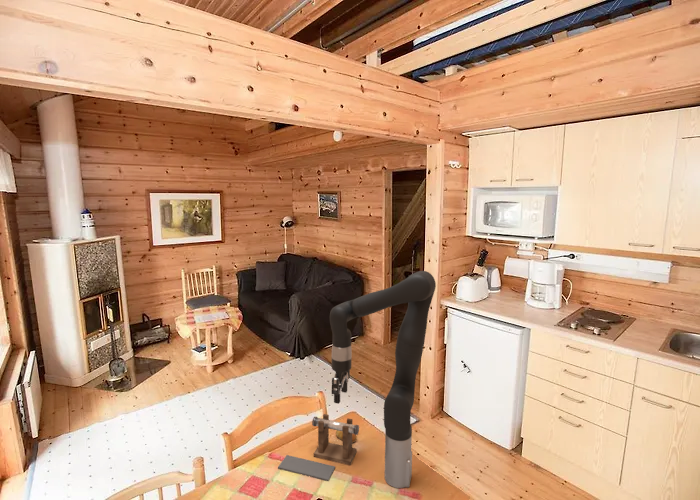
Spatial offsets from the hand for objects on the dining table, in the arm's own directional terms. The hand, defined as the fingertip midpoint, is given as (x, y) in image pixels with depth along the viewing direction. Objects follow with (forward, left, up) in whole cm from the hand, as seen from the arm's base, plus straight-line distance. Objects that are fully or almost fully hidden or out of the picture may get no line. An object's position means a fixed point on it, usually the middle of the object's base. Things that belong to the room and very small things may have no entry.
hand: (340, 397), depth 134 cm
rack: (+3, -1, -25) cm, 25 cm away
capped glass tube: (+3, -1, -13) cm, 13 cm away
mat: (+10, +9, -25) cm, 28 cm away
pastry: (+2, -13, -25) cm, 29 cm away
